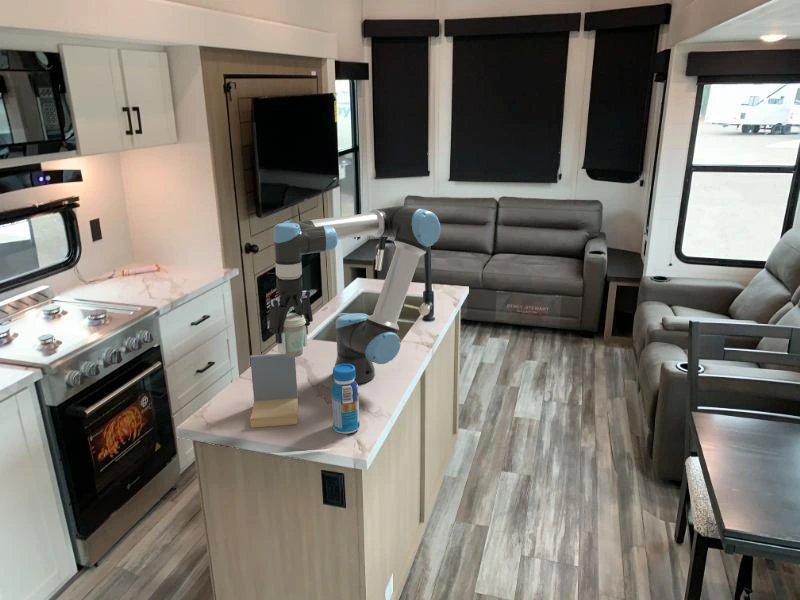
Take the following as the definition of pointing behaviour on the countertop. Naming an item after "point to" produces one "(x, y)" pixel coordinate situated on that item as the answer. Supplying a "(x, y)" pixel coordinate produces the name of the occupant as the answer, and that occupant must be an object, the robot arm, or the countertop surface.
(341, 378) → the beverage bottle
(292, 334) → the coffee cup
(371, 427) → the countertop surface
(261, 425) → the grey board on stand
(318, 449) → the countertop surface
